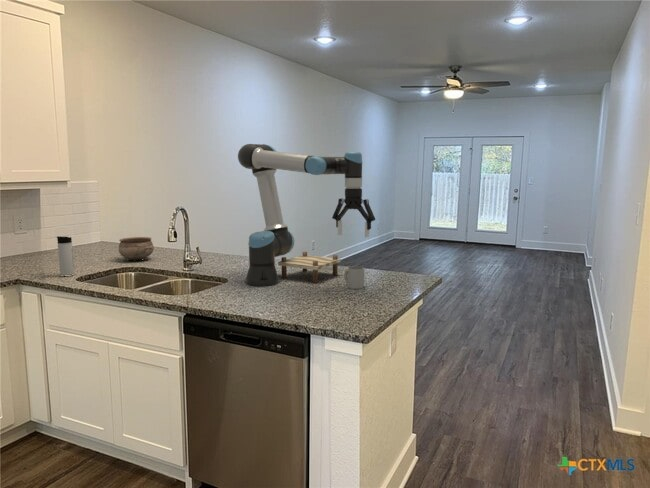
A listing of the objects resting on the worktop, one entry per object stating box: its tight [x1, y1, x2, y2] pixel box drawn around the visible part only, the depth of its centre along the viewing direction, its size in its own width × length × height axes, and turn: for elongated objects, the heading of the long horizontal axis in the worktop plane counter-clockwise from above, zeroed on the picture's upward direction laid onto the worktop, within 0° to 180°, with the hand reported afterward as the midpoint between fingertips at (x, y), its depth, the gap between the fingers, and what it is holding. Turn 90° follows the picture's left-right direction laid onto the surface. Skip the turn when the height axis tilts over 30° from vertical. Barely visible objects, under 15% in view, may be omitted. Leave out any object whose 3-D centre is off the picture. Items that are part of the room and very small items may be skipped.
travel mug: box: [56, 236, 75, 276], centre depth 246 cm, size 6×7×20 cm
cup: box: [343, 265, 365, 290], centre depth 224 cm, size 7×10×9 cm
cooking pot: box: [118, 236, 155, 261], centre depth 287 cm, size 25×19×12 cm
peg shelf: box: [277, 251, 341, 284], centre depth 244 cm, size 22×22×10 cm
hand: (353, 236), depth 221 cm, fingers open, 13 cm apart
